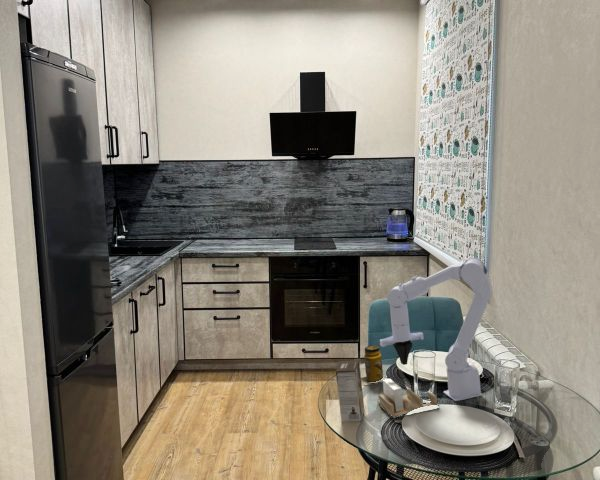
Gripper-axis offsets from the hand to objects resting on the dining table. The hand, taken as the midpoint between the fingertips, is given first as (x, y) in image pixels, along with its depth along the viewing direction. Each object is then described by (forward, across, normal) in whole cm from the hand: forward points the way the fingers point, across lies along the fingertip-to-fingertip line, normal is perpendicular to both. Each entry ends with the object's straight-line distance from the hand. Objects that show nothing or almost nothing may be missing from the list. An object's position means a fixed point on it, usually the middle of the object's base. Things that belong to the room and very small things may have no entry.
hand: (404, 363), depth 183 cm
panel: (+9, +9, +10) cm, 16 cm away
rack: (+10, +4, +10) cm, 15 cm away
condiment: (+10, +6, -16) cm, 20 cm away
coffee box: (+10, +22, +8) cm, 25 cm away
